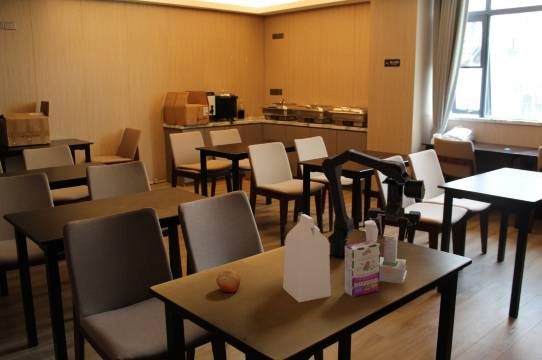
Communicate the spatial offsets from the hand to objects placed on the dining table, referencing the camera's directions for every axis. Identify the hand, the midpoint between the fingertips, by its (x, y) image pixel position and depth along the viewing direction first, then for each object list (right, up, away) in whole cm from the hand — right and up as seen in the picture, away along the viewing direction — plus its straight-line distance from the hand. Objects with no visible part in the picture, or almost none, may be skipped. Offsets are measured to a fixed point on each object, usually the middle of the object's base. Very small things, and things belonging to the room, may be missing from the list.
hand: (393, 237), depth 194 cm
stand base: (-3, -13, -9) cm, 16 cm away
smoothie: (-3, -6, +26) cm, 27 cm away
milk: (-34, -16, -21) cm, 43 cm away
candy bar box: (-16, -16, -21) cm, 31 cm away
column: (-3, -9, -9) cm, 13 cm away
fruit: (-60, -16, -19) cm, 65 cm away
